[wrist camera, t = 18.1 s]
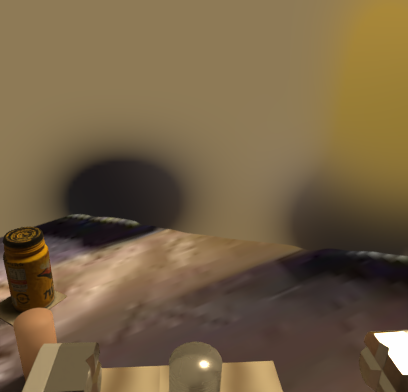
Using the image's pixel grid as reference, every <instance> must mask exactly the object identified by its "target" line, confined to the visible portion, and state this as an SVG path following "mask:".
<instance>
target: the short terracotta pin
mask: <svg viewBox="0 0 408 392" xmlns="http://www.w3.org/2000/svg"><path fill="white" fill-rule="evenodd" d="M13 326H14V331H15V336H16V340H17V345H18V350H19V355H20V359H21V364H22V369H23V373H24V378H25V383H26V380H27V378H28V376H29V373H30V371H31V369H32V366H33V364H34V362H35V359H36V357H37V355H38V352H39V350H40V348H41V347H42V346H43V344H47V343H57V340H56V334H55V327H54V321H53V315H52V312H51V311H50V310H48V309H46V308H33V309H30V310H27V311H25V312H23V313H21V314H20V315H19V316H18V317H17V318H16V319H15V321H14V323H13Z"/></svg>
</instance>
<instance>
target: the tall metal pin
mask: <svg viewBox="0 0 408 392" xmlns="http://www.w3.org/2000/svg"><path fill="white" fill-rule="evenodd" d="M221 373H222V359H221V356H220V354H219V353H218V351H217V350H216V349H215V348H213V347H212V346H210V345H208V344H206V343H202V342H189V343H185V344H183V345H181V346H179V347H178V348H176V349H175V350H174V351H173V353H172V354H171V357H170V360H169V392H220V386H221Z"/></svg>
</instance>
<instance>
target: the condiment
mask: <svg viewBox="0 0 408 392" xmlns="http://www.w3.org/2000/svg"><path fill="white" fill-rule="evenodd" d="M3 243H4V251H5V252H4V255H3V260H4V265H5V269H6V274H7V279H8V284H9V289H10V294H11V296H10V297H8V298H7V299H6V300H4V301H2V302H1V303H0V318H1V319H3V320H5V321H6V322H8V323H10V324H12V325H13V323H14V321H15V319H16V318H17V317H18V316H19V315H20V314H21V313H23V312H25V311H27V310H30V309H33V308H46V309H48V310H49V309H50V308H51V307H53V306H54V305H56V304H57V303H59V302H60V301H62V300H63V299H64V298H66V297H67V296H66V295H64V294H61V293H60V292H57V291H55V290H54V285H53V278H52V272H51V265H50V259H49V251H48V247H47V245H46V244H45V241H44V239H43V232H42V231H41V230H40V229H38V228H36V227H22V228H17V229H14V230H12V231H9V232H8V233H6V235H5V236H4V239H3Z"/></svg>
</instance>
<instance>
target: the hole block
mask: <svg viewBox="0 0 408 392" xmlns="http://www.w3.org/2000/svg"><path fill="white" fill-rule="evenodd" d="M100 392H169V366H147V367H125V368H102V379H101V390H100ZM220 392H283V391H282V388H281V385H280V382H279V379H278V376H277V373H276V370H275V366H274V363H273V361H261V362H238V363H222V373H221V386H220Z"/></svg>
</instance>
